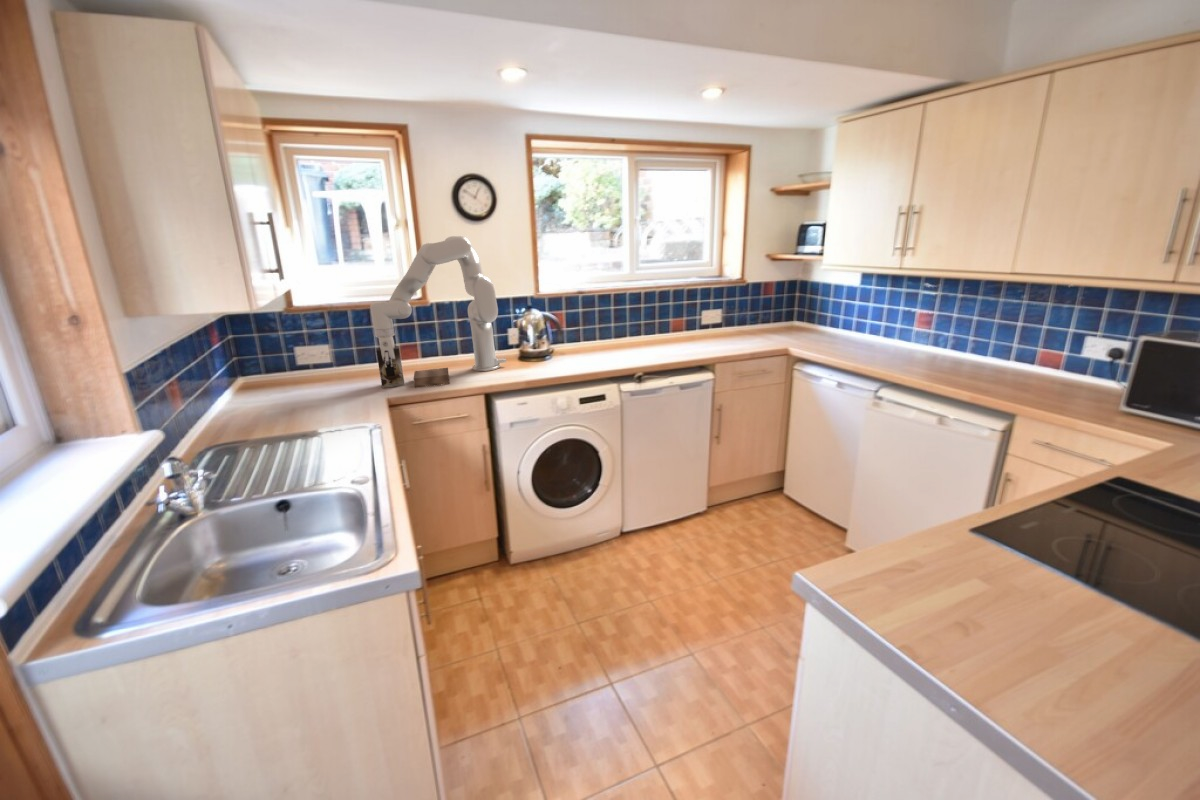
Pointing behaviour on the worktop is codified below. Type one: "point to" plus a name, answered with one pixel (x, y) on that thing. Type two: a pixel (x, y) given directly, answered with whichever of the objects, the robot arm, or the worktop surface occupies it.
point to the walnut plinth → (431, 377)
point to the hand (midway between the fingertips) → (391, 373)
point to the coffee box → (398, 378)
